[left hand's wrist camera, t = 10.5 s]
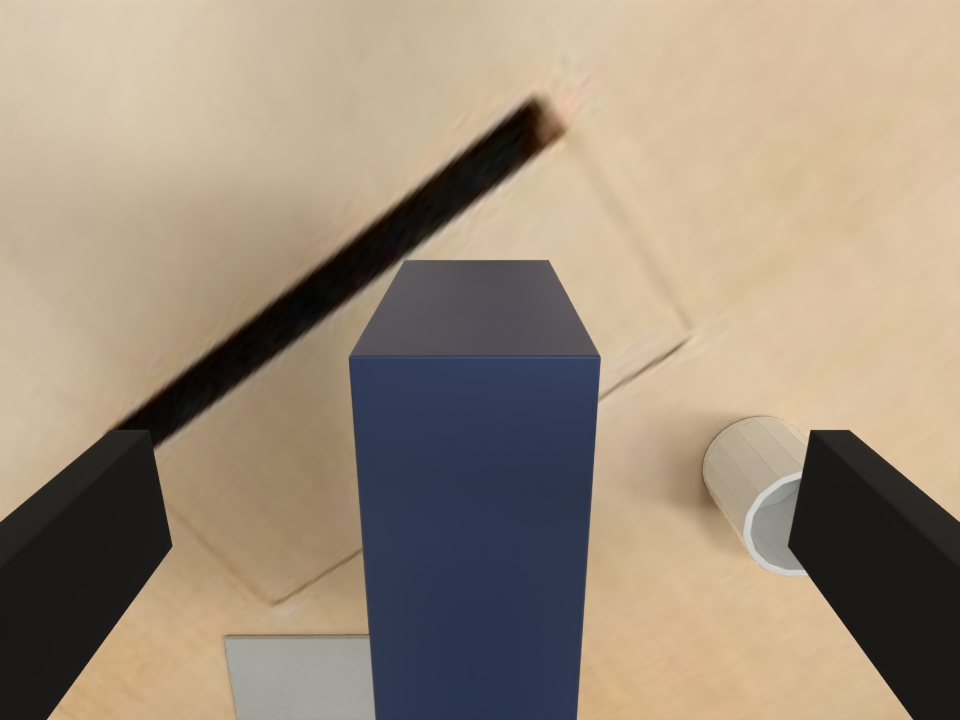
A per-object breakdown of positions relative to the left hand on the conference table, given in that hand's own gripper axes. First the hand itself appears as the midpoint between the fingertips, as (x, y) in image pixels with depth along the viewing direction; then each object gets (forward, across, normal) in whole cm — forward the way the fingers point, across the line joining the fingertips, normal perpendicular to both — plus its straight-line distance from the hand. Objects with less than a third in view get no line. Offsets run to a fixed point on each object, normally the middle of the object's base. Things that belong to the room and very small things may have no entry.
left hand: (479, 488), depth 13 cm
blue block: (+10, 0, -10) cm, 14 cm away
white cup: (+23, +17, -13) cm, 31 cm away
